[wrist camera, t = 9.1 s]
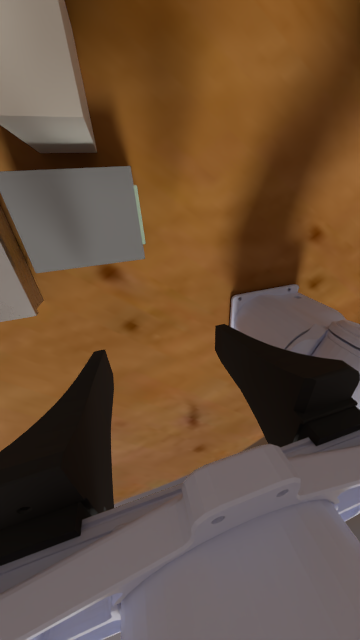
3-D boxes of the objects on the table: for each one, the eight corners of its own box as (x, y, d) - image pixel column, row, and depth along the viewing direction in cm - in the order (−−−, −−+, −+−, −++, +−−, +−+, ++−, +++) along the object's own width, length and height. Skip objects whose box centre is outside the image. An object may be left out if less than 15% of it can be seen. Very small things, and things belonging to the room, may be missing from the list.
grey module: (71, 29, 12) (29, -135, 7) (97, 152, 15) (83, 117, 10) (-7, 21, 12) (-139, -175, 6) (35, 153, 15) (-22, 115, 9)
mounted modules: (68, -230, 9) (37, -492, 6) (143, 249, 20) (148, 258, 16) (-168, -303, 8) (-404, -725, 4) (51, 261, 18) (35, 273, 15)
